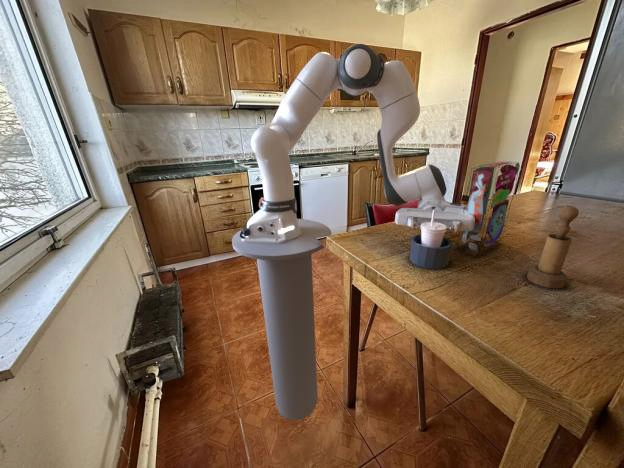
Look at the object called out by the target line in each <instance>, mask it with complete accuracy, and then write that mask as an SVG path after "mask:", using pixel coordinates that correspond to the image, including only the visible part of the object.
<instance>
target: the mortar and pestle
mask: <svg viewBox="0 0 624 468" xmlns="http://www.w3.org/2000/svg"><path fill="white" fill-rule="evenodd" d="M579 213H580V212H579V209H578V208H577V207H576V206H571V205H565V206H563V207H561V208H560V209H559V210H558V212H557V216H558V219H559V220H560V222H559V224H557V225H556V226H555V233H550V234H547V236H546V240H545V244H544V246H543V250H542V253H541V256H540V258H539V263H538V265H537V264H536V265H534V266H532V267H530V268H529V269H528V272H527V276H526V278H527V280H528V281H529V282H531V283H533V284H534V285H536V286H540V287H543V288H546V289H547V288H548V289H554V290H556V289H557V290H558V289H562V288H564V287H565V285H566V281H567V279H568V277H567V275H566V274H565V273H564V272H563V271H562V269H563V266H564V264H565V260H566V257H567V255H568V252H569V249H570V247H571V244H572V241H573V238H571V237H570V236H567V235H568V234H569V232H570V231H571V226H570V224H571V222H572V221H574V220H575V219H576V218H578V216H579Z"/></svg>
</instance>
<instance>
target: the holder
mask: <svg viewBox="0 0 624 468" xmlns="http://www.w3.org/2000/svg"><path fill="white" fill-rule="evenodd" d="M452 247H453V244H452V241H451V240H450V239H448V238H447V237H445V236H443V239H442V243H441V246H440V247H437V248H435V247H427V246H423V245H422V243H421V233H420V234H415V235H414V236H412V237H411V243H410V250H409V261H410V262H411V263H412V264H413V265H415V266H417V267H419V268H423V269H428V270H440V269H445V268H446V267H448V266H449V262H450V258H451V252H452Z"/></svg>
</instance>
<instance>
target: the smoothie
mask: <svg viewBox="0 0 624 468" xmlns="http://www.w3.org/2000/svg"><path fill="white" fill-rule="evenodd" d="M434 216H435V210H433V213H432V220H431V222H425V223H422V224H421V227H419V228H420V230H421V233H420V234H421V243H422V245H423V246H427V247H435V248H437V247H440V246H441V243H442V239H443V237H445V233H447V227H446V226H445V225H444V224H441V223H437V222H434Z"/></svg>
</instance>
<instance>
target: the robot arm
mask: <svg viewBox="0 0 624 468" xmlns="http://www.w3.org/2000/svg"><path fill="white" fill-rule="evenodd" d="M335 91H339V92H340V93H342V94H346V95H347V96H350V97H355V98H356V97H361V96H363V95H365V94H367V93H370V94H371V95H372V96H373V97H374V99H375V100H376V102H377V105H378V108H379V111H380V117H381V125H380V129H379V130H377V132H376V133H377V135H376V141H377V149H378V156H379V162H380V168H381V174H382V179H383V193H384V197H385V199H386V201H387V202H388V204H391V205H393V206H395V207H400V206H401V208H399V209H398V210H396V212H395V217H394V224H396V225H398V226H405V227H406V226H407V227H410V229H411V230H417V228H420V227H421V224H422V223H425V222H431V220H432V213H433V210H435V216H434V222H437V223H441V224H444V225H445V226H446V227H447V229H446V230H448V231H449V233H452V234H457V232H459V231H460V232H462V231H472V230H473V228H474V224H475V217H474V216H473V214H471V213H467V206H466V205H465V204H461V203H455V202H450V201H447V200H446V199H445V195H446V193H447V184H446V181H445V178H444V176H443V173H442V172H441V170H440V168H439V167H437V166H436V165H433V164H431V163H428V164H426V165H424V166H420V167H416V168H414V169H413V170H410V171H407V172H405V173H402V174H397V173H396V169H395V168H396V167H395V162H394V157H393V150H394V147H395V145H396V143H397V142H398V141H399V140H400V139H401V138H402V137H403V136H404V135H406V134H407V132H409V131H410V130H411V129H412V128H413V127H414V125H415V124H416V123H417V121H418V119H419V117H420V114H421V105H420V99H419V95H418V93H417V90H416V86H415V83H414V80H413V79H412V76H411V74H410V72H409V70H408V69H407V67H406V65H405V63H404V62H403V61H401V60H398V59H395V60H394V59H393V60H389V61H386V62H385V60H384V58H383V57H381V56H380V55H379V54H378V53H376V51H374V50H373V49H372V48H371V47H370V46H368V45H366V44H363V43H355V44H352V45H351V46H349V47H347V48H346V49H345V51H343V53H342V55H340V59H338V58H335V57H334V56H333V55H332V54H330V53H329V52H326V51H320V52H319V51H318V52H317V53H316V54H315V55H314V56H312V58H311V59H310V60H308V62H307V63H306V64H305V66H304V67H303V68H302V69H301V71H299V73H298V74H297V76H296V78H295V79H294V80H293V82H292V83H291V84H290V86H289V88H288V89H287V91H286V92H285V94H284V95H283V97H282V99H281V100H280V102H279V103H280V104H279V106H278V109H277V110H276V113H275V115H274V117H273V118H272V120H271V122H270V123H267V124H263V125H261V126H259V127H258V128H257V129H256V130H255V131H254V132H253V133H252V136H251V139H250V145H251V149H252V151H253V153H254V155H255V158H256V159H255V160H256V162H257V166H258V169H259V173H260V176H261V183H262V192H263V197H260V199H259V201H258V207H259V210H258V211H256V212H255V213H254V214H253V215H252V216H251V217H250V218H249V219H248V221H247V224H246V226H242V227H240V230H241V232H240V237H241V240H242V241H243V242H250V243H272V244H282V243H284V242H286V241H288V240H291V239H294V238H297V237H298V236H300V234H301V231H300V228H299V225H298V221H297V219H298V216H297V210H298V207H297V206H298V205H297V197H296V196H295V183H294V174H293V171H292V166H291V161H290V153H291V152H292V151H293V149H294V148H295V146H296V144H297V143H298V142H299V141H300V139H301V138H302V136H303V134H304V133H305V132H306V129H307V127H308V126H309V125H310V123H311V121H312V120H313V119H314V117H316V115H317V114H318V112H319V111H320V110H321V108H322V107H323V105H324V104H325V103H326V101H327V100H328V98H329V97H330V96H331V94H333V92H335ZM416 200H418V202H417V208H415V207H402V206H403V205H406V204H408V203H410V202H413V201H416ZM464 205H465V208H464ZM463 210H464V212H463Z"/></svg>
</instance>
